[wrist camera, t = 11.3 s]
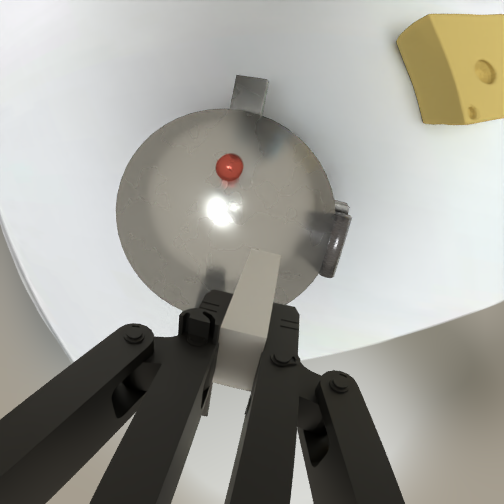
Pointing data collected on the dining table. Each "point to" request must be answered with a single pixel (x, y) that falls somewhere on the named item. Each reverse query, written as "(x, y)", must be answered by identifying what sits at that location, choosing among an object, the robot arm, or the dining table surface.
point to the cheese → (456, 67)
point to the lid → (226, 208)
